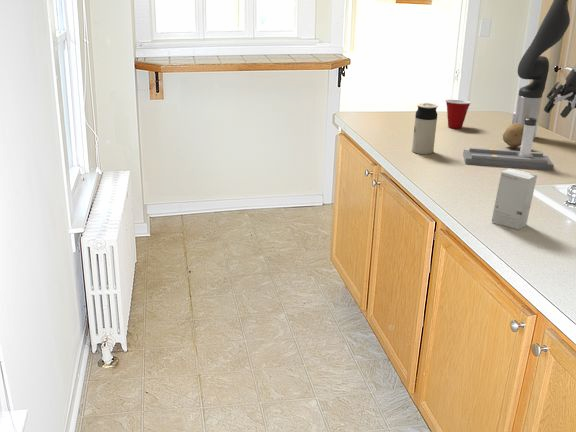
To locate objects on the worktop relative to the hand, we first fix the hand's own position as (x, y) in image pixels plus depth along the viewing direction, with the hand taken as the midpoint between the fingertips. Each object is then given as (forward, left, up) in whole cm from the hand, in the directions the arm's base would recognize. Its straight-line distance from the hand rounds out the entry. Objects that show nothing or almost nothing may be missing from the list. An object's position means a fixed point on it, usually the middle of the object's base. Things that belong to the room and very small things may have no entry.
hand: (554, 114), depth 227 cm
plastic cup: (-61, +15, -20) cm, 66 cm away
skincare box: (+32, -52, -20) cm, 64 cm away
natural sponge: (-25, +12, -20) cm, 34 cm away
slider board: (-12, -6, -20) cm, 24 cm away
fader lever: (-8, -1, -17) cm, 19 cm away
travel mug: (-36, -25, -20) cm, 48 cm away
